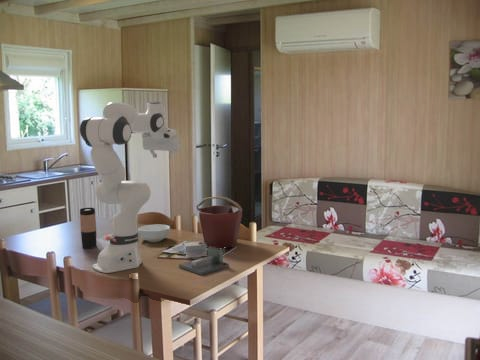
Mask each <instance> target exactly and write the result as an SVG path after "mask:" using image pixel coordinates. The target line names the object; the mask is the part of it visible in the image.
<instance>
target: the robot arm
mask: <svg viewBox="0 0 480 360" xmlns="http://www.w3.org/2000/svg"><path fill="white" fill-rule="evenodd" d="M102 116H103V117H93V116H91V117H86V118H84V119H82V121H81V123H80V125H79V133H80V136H81V138H82V140H83V141H84V142H85V145H87V146H88V147H91V149H90V158H91V162H92V164H93V167H94V169H95V171H96V173H97V174H98V176H99V178H100V180H101V181H100V182H99V183H98V184H97V186H96V189H95V196H96V198H97V200H98V201H99V202H100V203H104V204H108V205H121V206H122V209H121V211H119V212H118V213H115V214H114V215H113V217H112V221H111V223H112V234H111V236H109V235H105V238H104V239H105V240H106V241H109V243H108V244H107V245H106V246H105V247H104V248H103V249H102V250H100V252H99V253H98V256H97V263H94V264H92V269H93V270H95V271H97V272H100V273H105V274H110V273H111V274H112V273H115V272H121V271H125V270H131V269H136V268H139V267H140V265H141V264H142V263H143V260H142V257H141V254H140V249H139V233H138V216H139V212H140V210H141V208H142V207H143V206H144V205H145V204H147V203H148V202H149V200H150V197H151V194H152V193H151V189H150V188H151V187H150V186H149V185H148V184H147V183H146V182H143V181H139V180H125V178H126V174H127V173H126V168H125V166H124V165H123V162H122V161H121V159H120V157H119V155H118V153H117V152H116V151H115V149H114V146H113V145H118V146H121V145H122V146H123V145H125V144H127V143H128V142H129V141H130V140H131V137H132V134H138V133H142V134H141V138H142V148H143V150H145V151H149V152H150V154H151V155H152V157H153V158H154V159H156V158H157V157H158V155H157V153H156V152H155V151H163V152H165V151H167V152H168V151H169V153H170V154H169V155H168V159H171V160H172V159H173V158H174V153H175V152H177V151H179V150H180V149H181V142H180V138H179V137H178V135H177V134H178V133H177V132H178V131H177V130H176V129H172V128H170V127H168V125H167V122H166V113H165V107H164V105H163V102H160V101H150V102H148V103H146V112H138V110H137V109H136V108H135V107H134V106H132V105H131V104H128V103H125V102H121V101H114V102H108V103H107V104H105V106H104V107H103V110H102Z"/></svg>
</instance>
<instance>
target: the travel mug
mask: <svg viewBox="0 0 480 360" xmlns="http://www.w3.org/2000/svg"><path fill="white" fill-rule="evenodd" d="M95 209H96V208H95V207H83V208H80V209H79V218H80V219H79V220H80V221H79V222H80V223H79V224H80V236H81V247H82V248H83V249H87V250H88V249H94V248H96V247H97V222H96V220H97V219H96V210H95Z"/></svg>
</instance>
